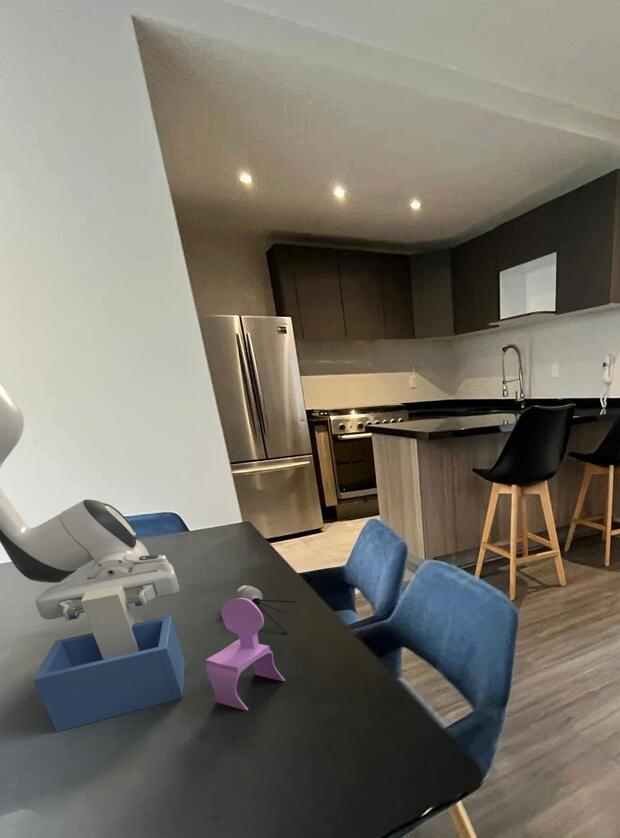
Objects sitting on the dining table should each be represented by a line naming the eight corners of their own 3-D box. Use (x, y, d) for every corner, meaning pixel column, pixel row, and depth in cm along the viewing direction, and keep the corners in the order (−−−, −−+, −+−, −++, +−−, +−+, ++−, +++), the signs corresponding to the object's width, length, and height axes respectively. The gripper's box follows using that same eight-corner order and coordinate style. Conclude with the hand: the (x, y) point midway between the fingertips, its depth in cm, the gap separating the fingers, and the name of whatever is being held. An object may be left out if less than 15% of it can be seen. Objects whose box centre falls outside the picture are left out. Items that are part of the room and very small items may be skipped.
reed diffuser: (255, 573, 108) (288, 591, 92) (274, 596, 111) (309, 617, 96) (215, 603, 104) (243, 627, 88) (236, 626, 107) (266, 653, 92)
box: (57, 732, 71) (32, 679, 67) (75, 688, 81) (55, 640, 78) (182, 698, 77) (166, 648, 73) (185, 661, 87) (170, 615, 84)
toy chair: (209, 702, 75) (182, 615, 69) (251, 672, 82) (230, 590, 77) (249, 714, 72) (225, 623, 66) (290, 681, 79) (271, 597, 73)
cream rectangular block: (105, 665, 79) (80, 601, 75) (109, 653, 83) (85, 591, 78) (140, 657, 81) (118, 594, 77) (143, 646, 85) (121, 585, 80)
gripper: (42, 575, 84) (16, 605, 73) (174, 553, 92) (170, 576, 80) (55, 608, 87) (33, 642, 75) (183, 583, 94) (180, 611, 83)
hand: (105, 608), depth 78 cm, fingers open, 8 cm apart
